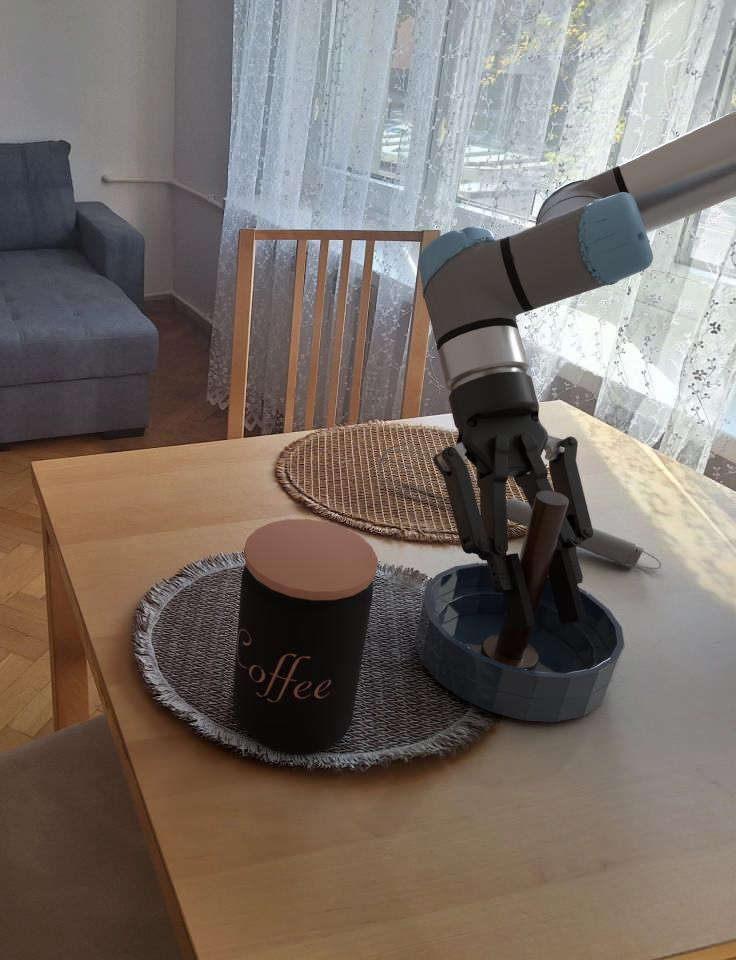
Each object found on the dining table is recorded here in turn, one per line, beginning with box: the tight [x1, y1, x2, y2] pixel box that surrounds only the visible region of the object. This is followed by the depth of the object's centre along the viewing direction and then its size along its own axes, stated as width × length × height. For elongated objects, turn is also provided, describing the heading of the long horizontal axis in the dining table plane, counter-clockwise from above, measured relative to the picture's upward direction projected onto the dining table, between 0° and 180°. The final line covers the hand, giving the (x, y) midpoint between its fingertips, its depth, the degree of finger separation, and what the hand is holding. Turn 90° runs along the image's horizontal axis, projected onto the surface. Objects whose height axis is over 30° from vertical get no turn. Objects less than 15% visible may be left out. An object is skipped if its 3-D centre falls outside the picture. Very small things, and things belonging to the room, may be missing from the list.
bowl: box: [414, 562, 626, 723], centre depth 83 cm, size 17×17×6 cm
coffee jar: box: [232, 518, 379, 756], centre depth 74 cm, size 11×11×18 cm
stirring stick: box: [481, 490, 569, 671], centre depth 79 cm, size 5×5×18 cm
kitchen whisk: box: [376, 443, 662, 570], centre depth 105 cm, size 6×34×6 cm, turn 48°
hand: (548, 624), depth 77 cm, fingers open, 4 cm apart
